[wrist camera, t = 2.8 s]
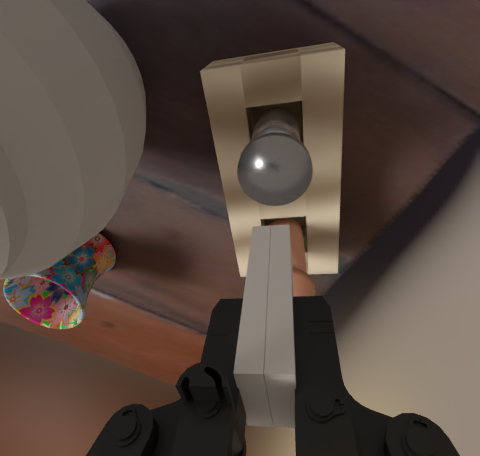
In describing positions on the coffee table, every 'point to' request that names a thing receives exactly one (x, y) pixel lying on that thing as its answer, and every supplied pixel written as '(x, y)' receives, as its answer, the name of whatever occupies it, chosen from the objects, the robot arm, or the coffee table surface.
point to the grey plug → (275, 160)
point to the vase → (62, 129)
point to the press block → (310, 131)
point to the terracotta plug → (298, 259)
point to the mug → (61, 286)
